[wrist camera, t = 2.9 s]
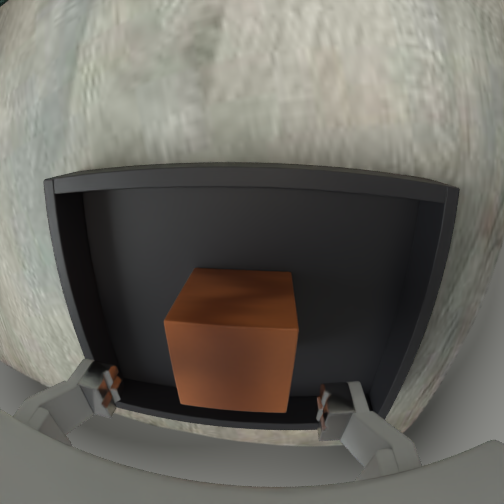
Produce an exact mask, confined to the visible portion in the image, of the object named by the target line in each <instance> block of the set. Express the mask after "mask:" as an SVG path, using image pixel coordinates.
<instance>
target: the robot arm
mask: <svg viewBox="0 0 504 504" xmlns="http://www.w3.org/2000/svg"><path fill="white" fill-rule="evenodd" d="M118 373H119V371H118V368H117V366H115V365H111V364H107V363H103V362H99V361H96V360H91V359H88V358H85V359H83V360H82V362H81V363H80V364H79V366H78V367H77V368H76V370H75V371H74V372H73V374H72V375H71V377H70V378H69V379H68V381H63V382H61V383H58V384H56V385H54V386H52V387H50V388H48V389H46V390H44V391H42V392H39V393H37V394H35V395H33V396H31V397H28V398H26V399H25V400H24V402H23V403H22V405H21V406H20V407H19V409H18V410H17V411H16V413H15V414H14V416H11V415H9V414H8V413H6V412H4V411H3V410H1V409H0V504H504V444H503V443H502V442H499V441H497V440H490V441H487V442H485V443H483V444H481V445H478V446H476V447H474V448H472V449H469V450H467V451H464V452H462V453H459V454H457V455H454V456H451V457H449V458H446V459H443V460H440V461H437V462H434V463H431V464H428V465H424V466H422V464H421V461H420V458H419V456H418V453H417V450H416V447H415V444H414V442H413V441H412V440H411V439H409V438H408V437H406V436H405V435H404V434H403V433H401V432H400V431H399V430H397V429H396V428H395V427H393V426H392V425H391V424H389V423H388V422H387V421H386V420H384V419H383V418H382V417H380V416H379V415H378V414H377V413H375V412H374V411H370V410H369V407H368V404H367V401H366V398H365V395H364V392H363V389H362V386H361V383H360V382H359V381H353V382H337V383H321V385H320V388H319V393H320V395H319V396H318V397H317V400H316V406H315V415H316V419H317V420H318V421H319V424H318V427H317V430H318V437H319V441H328V440H340V441H341V442H342V444H343V445H344V446H345V447H346V448H347V449H348V450H349V451H350V452H351V454H352V455H353V456H354V457H355V458H356V459H357V460H358V461H359V462H360V463H361V464H362V465H363V466H364V469H363V471H362V472H361V473H360V474H359V476H358V477H357V478H356V480H355V481H353V482H346V483H337V484H328V485H318V486H301V487H252V486H235V485H224V484H215V483H207V482H199V481H193V480H187V479H181V478H176V477H170V476H165V475H161V474H156V473H152V472H148V471H144V470H140V469H136V468H133V467H129V466H126V465H122V464H119V463H116V462H113V461H110V460H107V459H104V458H101V457H98V456H95V455H93V454H90V453H87V452H85V451H82V450H79V449H77V448H74V447H72V444H71V442H70V441H69V439H68V438H67V437H66V434H68V433H69V432H71V431H72V430H74V429H75V428H76V427H78V426H79V425H81V424H82V423H84V422H85V421H86V420H87V419H89V418H91V417H92V416H93V415H94V414H97V415H100V416H104V417H108V418H111V417H112V415H113V413H114V411H115V409H116V404H115V403H116V402H117V401H119V400H120V399H121V397H122V395H123V389H124V387H123V382H122V379H121V378H120V377H119V376H118Z"/></svg>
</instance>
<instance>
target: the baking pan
mask: <svg viewBox="0 0 504 504" xmlns="http://www.w3.org/2000/svg"><path fill="white" fill-rule="evenodd" d="M44 191H45V201H46V209H47V216H48V223H49V229H50V235H51V241H52V246H53V251H54V256H55V261H56V265H57V270H58V274H59V278H60V282H61V286H62V289H63V293H64V297H65V300H66V304H67V307H68V310H69V314H70V317H71V320H72V323H73V326H74V329H75V332H76V335H77V338H78V340H79V343H80V346H81V349H82V351H83V354H84V356H85V358H88V359H91V360H96V361H99V362H103V363H107V364H111V365H115V366H117V368H118V371H119V373H118V376H119V377H120V378H121V379H122V382H123V387H124V389H123V395H122V397H121V399H120V400H119V401H117V402H116V403H115V404H116V407H118V408H122V409H126V410H130V411H134V412H138V413H142V414H147V415H151V416H156V417H161V418H166V419H172V420H178V421H184V422H190V423H197V424H204V425H213V426H222V427H232V428H245V429H264V430H317V427H318V424H319V421H318V420H317V419H316V415H315V406H316V400H317V397H318V396H319V395H320V393H319V388H320V385H321V383H337V382H353V381H359V382H360V383H361V386H362V389H363V392H364V395H365V398H366V401H367V404H368V407H369V410H370V411H374V412H375V413H377V414H378V415H379V416H380V417H382V418H383V419H384V420H385V418H386V416H387V414H388V413H389V411H390V409H391V407H392V405H393V403H394V401H395V399H396V397H397V395H398V393H399V391H400V389H401V387H402V385H403V383H404V381H405V379H406V377H407V374H408V372H409V370H410V368H411V365H412V363H413V361H414V358H415V356H416V354H417V351H418V349H419V346H420V344H421V341H422V338H423V336H424V333H425V330H426V328H427V325H428V322H429V319H430V316H431V313H432V310H433V307H434V304H435V301H436V298H437V295H438V291H439V288H440V284H441V281H442V277H443V273H444V269H445V265H446V261H447V257H448V253H449V248H450V244H451V239H452V234H453V229H454V223H455V217H456V211H457V205H458V198H459V188H457V187H454V186H451V185H447V184H444V183H441V182H437V181H434V180H431V179H426V178H420V177H414V176H407V175H400V174H393V173H386V172H378V171H369V170H360V169H351V168H340V167H328V166H315V165H299V164H279V163H241V162H212V163H175V164H155V165H139V166H126V167H115V168H105V169H95V170H87V171H78V172H73V173H69V174H65V175H60V176H56V177H52V178H48V179H45V180H44ZM194 268H209V269H230V270H253V271H278V272H291V274H292V281H293V288H294V296H295V303H296V311H297V319H298V327H299V333H298V341H297V348H296V355H295V362H294V369H293V376H292V382H291V388H290V394H289V401H288V406H287V411H286V413H274V412H251V411H236V410H225V409H215V408H206V407H198V406H191V405H184V404H181V403H180V399H179V395H178V391H177V386H176V382H175V378H174V373H173V368H172V363H171V359H170V354H169V348H168V343H167V338H166V332H165V326H164V319H165V318H166V316H167V314H168V312H169V311H170V309H171V307H172V305H173V304H174V302H175V300H176V299H177V297H178V295H179V293H180V292H181V290H182V288H183V287H184V285H185V283H186V282H187V280H188V278H189V276H190V275H191V273H192V271H193V270H194Z"/></svg>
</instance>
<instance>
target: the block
mask: <svg viewBox="0 0 504 504" xmlns="http://www.w3.org/2000/svg"><path fill="white" fill-rule="evenodd" d="M164 326H165V332H166V338H167V343H168V348H169V354H170V359H171V363H172V368H173V373H174V378H175V382H176V386H177V391H178V395H179V399H180V403H181V404H184V405H191V406H198V407H206V408H215V409H225V410H236V411H251V412H274V413H286V411H287V406H288V401H289V394H290V388H291V382H292V376H293V369H294V362H295V355H296V348H297V341H298V333H299V327H298V319H297V311H296V303H295V296H294V288H293V281H292V274H291V272H278V271H253V270H230V269H209V268H194V270H193V271H192V273H191V275H190V276H189V278H188V280H187V282H186V283H185V285H184V287H183V288H182V290H181V292H180V293H179V295H178V297H177V299H176V300H175V302H174V304H173V305H172V307H171V309H170V311H169V312H168V314H167V316H166V318H165V319H164Z"/></svg>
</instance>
